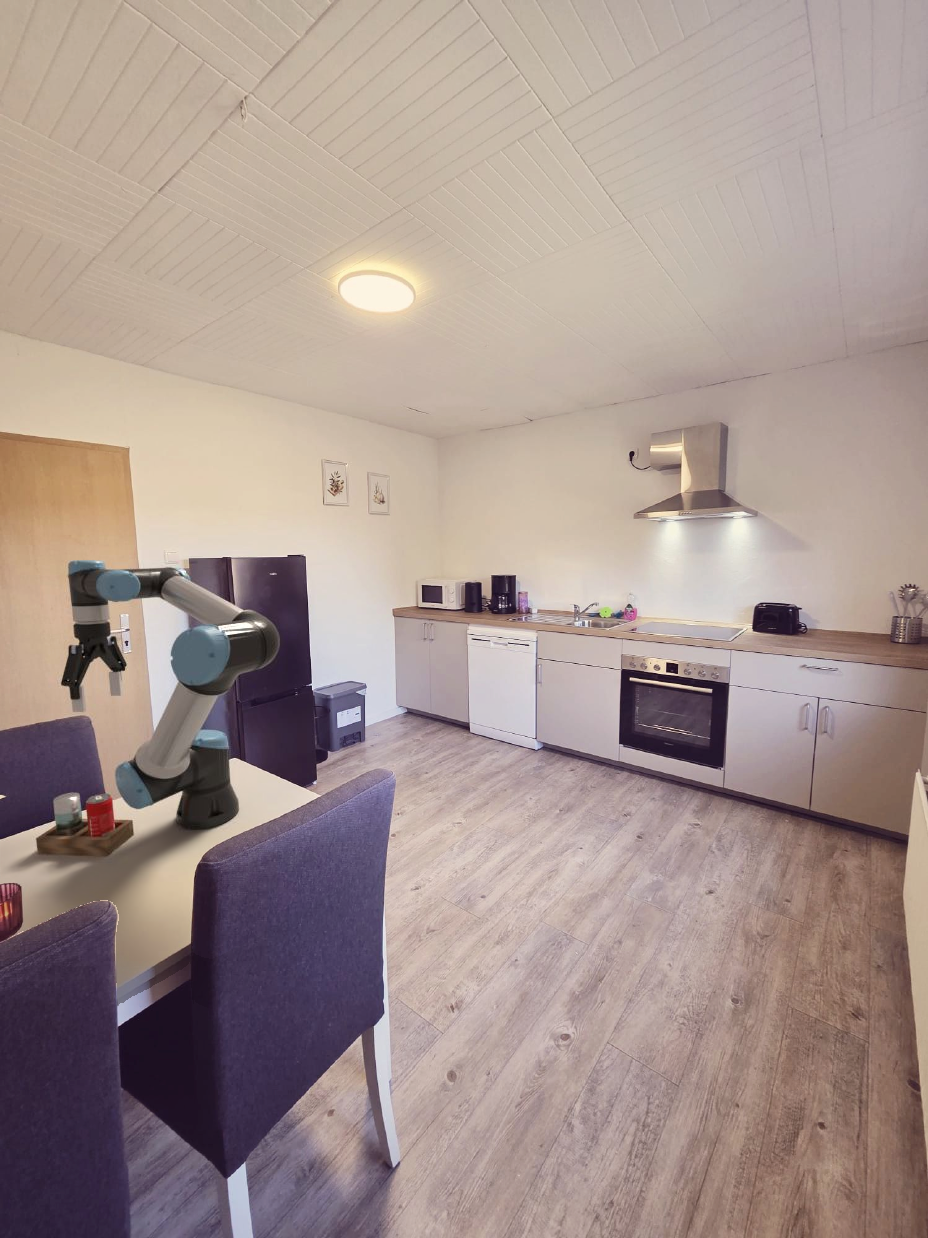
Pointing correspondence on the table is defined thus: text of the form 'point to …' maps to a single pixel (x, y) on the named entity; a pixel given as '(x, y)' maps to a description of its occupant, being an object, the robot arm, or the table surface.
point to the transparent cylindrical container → (68, 814)
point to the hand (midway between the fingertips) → (99, 703)
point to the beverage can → (100, 815)
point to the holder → (85, 841)
